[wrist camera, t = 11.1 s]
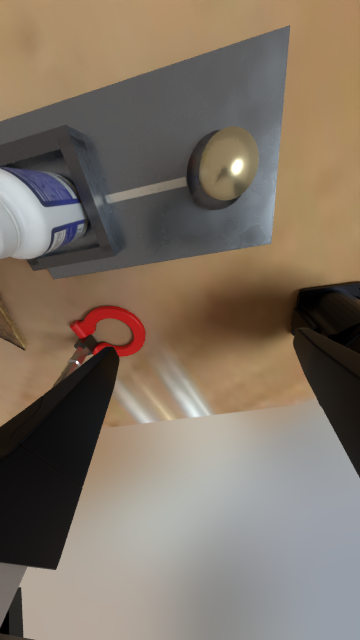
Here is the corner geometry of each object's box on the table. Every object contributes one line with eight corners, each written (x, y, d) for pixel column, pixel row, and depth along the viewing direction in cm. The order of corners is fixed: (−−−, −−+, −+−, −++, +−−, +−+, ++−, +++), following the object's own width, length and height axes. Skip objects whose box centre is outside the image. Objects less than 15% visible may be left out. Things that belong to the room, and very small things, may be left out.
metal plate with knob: (282, 38, 12) (370, -116, 6) (267, 240, 18) (301, 264, 12) (-19, 136, 15) (-153, 103, 9) (60, 275, 22) (10, 306, 16)
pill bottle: (18, 174, 16) (-138, 160, 8) (78, 170, 15) (-30, 152, 8) (47, 241, 19) (-49, 274, 11) (97, 240, 18) (32, 273, 11)
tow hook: (127, 295, 23) (68, 316, 25) (80, 381, 13) (-17, 405, 15) (155, 343, 28) (102, 357, 30) (137, 437, 17) (56, 449, 19)
